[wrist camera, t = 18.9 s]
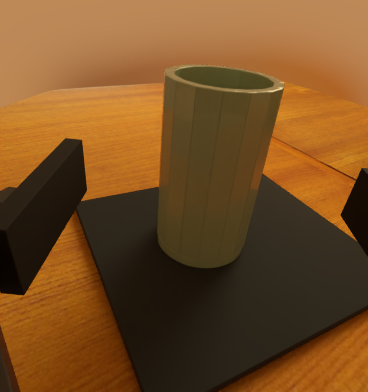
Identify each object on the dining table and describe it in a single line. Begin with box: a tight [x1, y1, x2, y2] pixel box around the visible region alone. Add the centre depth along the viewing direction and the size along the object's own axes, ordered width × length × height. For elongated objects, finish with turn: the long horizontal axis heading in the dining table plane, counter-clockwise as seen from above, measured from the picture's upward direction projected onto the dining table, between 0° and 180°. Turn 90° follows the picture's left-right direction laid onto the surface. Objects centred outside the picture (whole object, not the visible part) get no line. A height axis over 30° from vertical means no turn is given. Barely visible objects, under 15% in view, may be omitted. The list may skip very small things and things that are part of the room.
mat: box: [76, 174, 368, 392], centre depth 24 cm, size 20×18×1 cm
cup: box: [157, 65, 284, 268], centre depth 21 cm, size 7×7×12 cm
